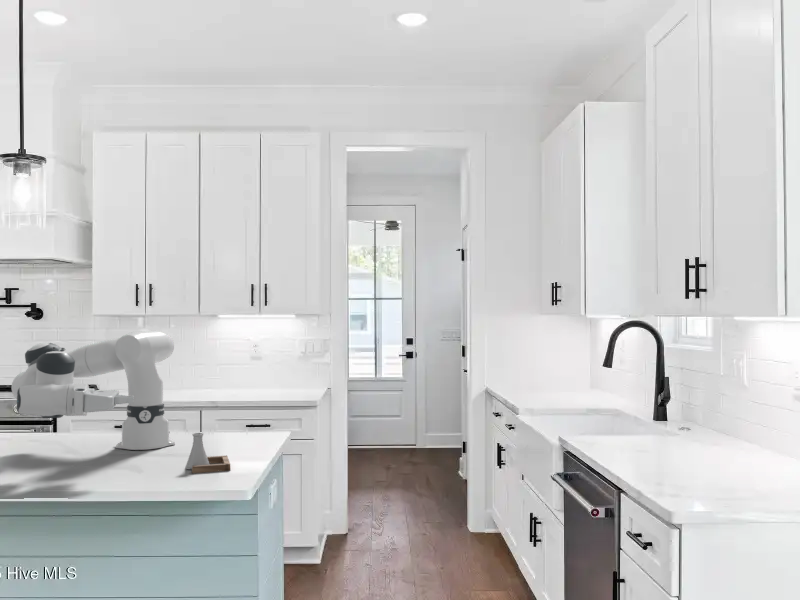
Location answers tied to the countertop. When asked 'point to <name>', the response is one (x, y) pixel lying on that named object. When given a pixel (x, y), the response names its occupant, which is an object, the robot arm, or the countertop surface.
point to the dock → (213, 465)
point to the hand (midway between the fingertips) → (133, 399)
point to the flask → (197, 452)
